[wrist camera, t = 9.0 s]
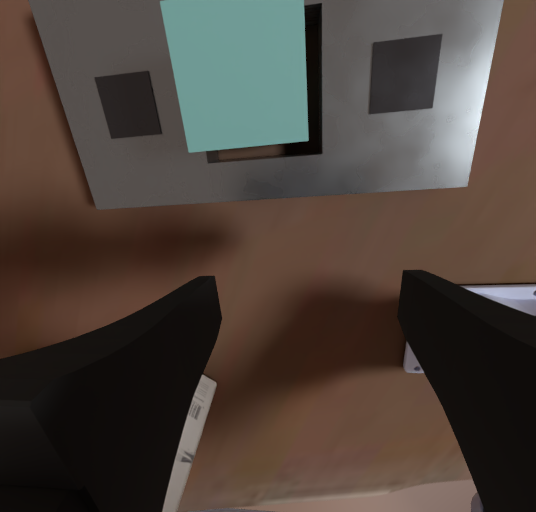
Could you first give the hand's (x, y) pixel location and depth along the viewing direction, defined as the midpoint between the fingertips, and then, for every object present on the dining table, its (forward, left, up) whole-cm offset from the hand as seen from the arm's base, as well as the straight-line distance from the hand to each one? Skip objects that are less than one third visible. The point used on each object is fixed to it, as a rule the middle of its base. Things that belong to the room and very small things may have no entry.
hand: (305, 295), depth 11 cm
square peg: (+2, -8, -9) cm, 12 cm away
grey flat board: (+2, -8, -9) cm, 13 cm away
